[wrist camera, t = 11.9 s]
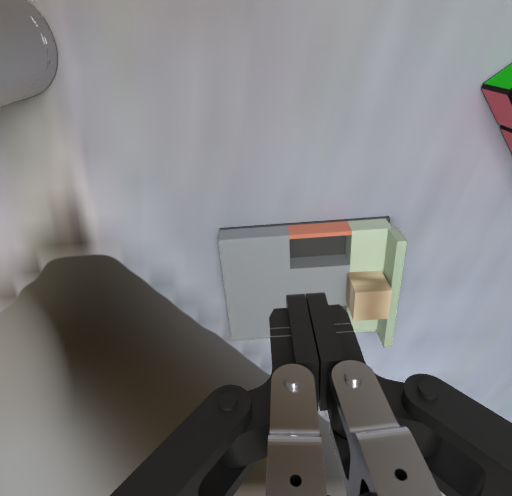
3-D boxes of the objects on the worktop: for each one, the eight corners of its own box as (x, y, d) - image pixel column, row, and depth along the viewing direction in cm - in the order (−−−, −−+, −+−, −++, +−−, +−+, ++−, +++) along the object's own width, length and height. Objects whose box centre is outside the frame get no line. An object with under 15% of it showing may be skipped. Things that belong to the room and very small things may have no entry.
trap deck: (232, 324, 53) (230, 357, 48) (219, 228, 46) (215, 253, 40) (377, 315, 53) (391, 347, 47) (388, 216, 45) (406, 240, 40)
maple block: (345, 299, 47) (353, 320, 44) (347, 272, 45) (355, 292, 42) (377, 297, 47) (388, 318, 44) (381, 270, 45) (392, 290, 42)
